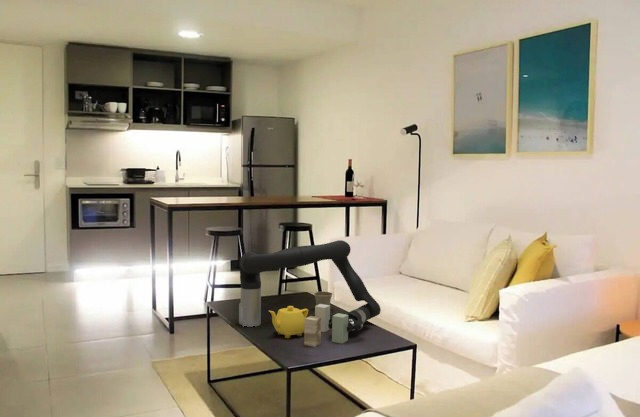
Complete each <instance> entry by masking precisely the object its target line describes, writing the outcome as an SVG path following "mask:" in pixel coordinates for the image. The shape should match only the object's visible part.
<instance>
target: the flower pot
mask: <svg viewBox="0 0 640 417" xmlns="http://www.w3.org/2000/svg"><path fill="white" fill-rule="evenodd" d="M313 294H314V298H315V304H316V305H315V306H317V305H319V304H324V305H330V306H331V299H332V296H333V292H331V291H330V292H329V291H315V292H314V293H313Z"/></svg>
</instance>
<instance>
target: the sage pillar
mask: <svg viewBox="0 0 640 417" xmlns="http://www.w3.org/2000/svg"><path fill="white" fill-rule="evenodd" d="M331 317H332V318H331V319H332V328H331V342H333V343H337V344H344V343H346V342H347V341H349V332H347V326H348V315H346V313H345V314H344V313H339V312H338V313H335V314H334V315H332V316H331Z"/></svg>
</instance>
